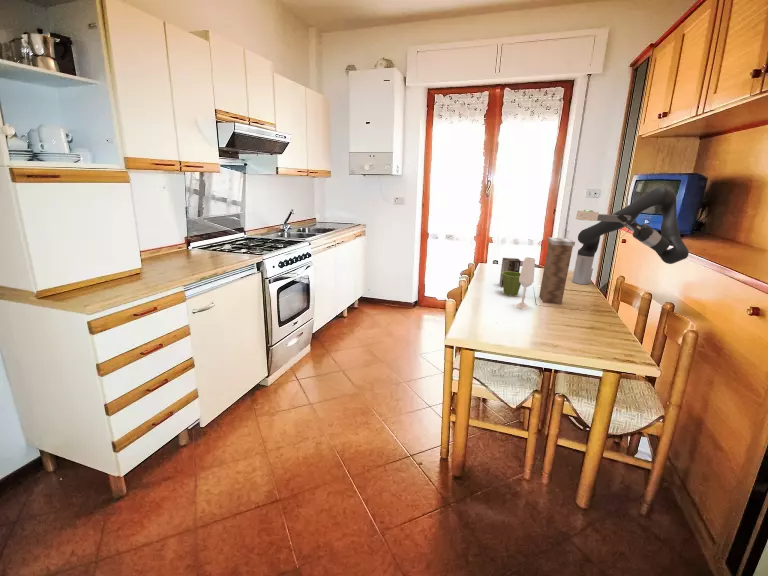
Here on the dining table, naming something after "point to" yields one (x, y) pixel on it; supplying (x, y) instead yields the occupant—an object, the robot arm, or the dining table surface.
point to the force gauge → (598, 216)
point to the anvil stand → (556, 270)
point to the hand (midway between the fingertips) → (617, 215)
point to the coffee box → (509, 267)
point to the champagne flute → (526, 278)
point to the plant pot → (511, 283)
